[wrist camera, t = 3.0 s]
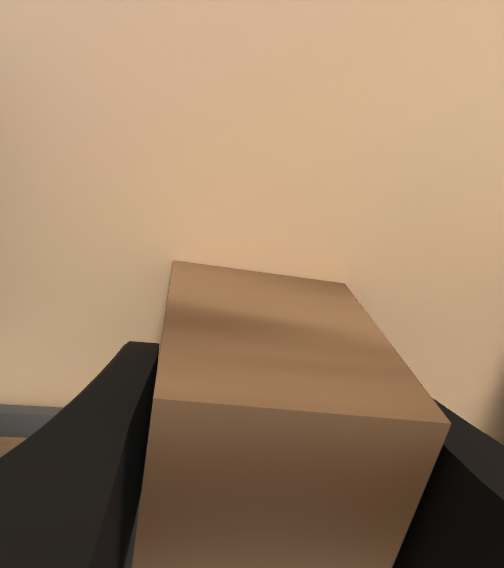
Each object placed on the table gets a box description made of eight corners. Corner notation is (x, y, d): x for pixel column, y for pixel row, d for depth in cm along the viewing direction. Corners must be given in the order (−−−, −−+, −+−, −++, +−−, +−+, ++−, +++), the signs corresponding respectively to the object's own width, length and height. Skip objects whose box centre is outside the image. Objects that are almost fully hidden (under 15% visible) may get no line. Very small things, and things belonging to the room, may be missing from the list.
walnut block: (306, 421, 12) (371, 617, 8) (153, 409, 12) (126, 616, 7) (345, 284, 11) (451, 423, 6) (172, 260, 10) (153, 398, 6)
